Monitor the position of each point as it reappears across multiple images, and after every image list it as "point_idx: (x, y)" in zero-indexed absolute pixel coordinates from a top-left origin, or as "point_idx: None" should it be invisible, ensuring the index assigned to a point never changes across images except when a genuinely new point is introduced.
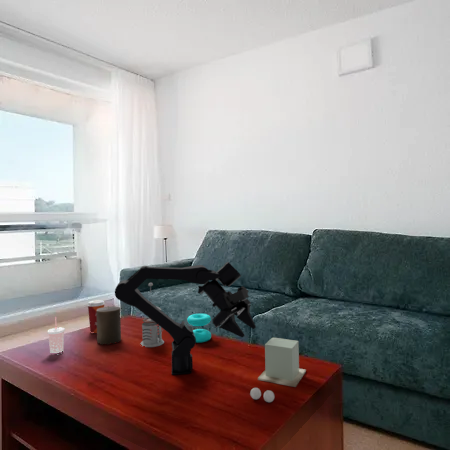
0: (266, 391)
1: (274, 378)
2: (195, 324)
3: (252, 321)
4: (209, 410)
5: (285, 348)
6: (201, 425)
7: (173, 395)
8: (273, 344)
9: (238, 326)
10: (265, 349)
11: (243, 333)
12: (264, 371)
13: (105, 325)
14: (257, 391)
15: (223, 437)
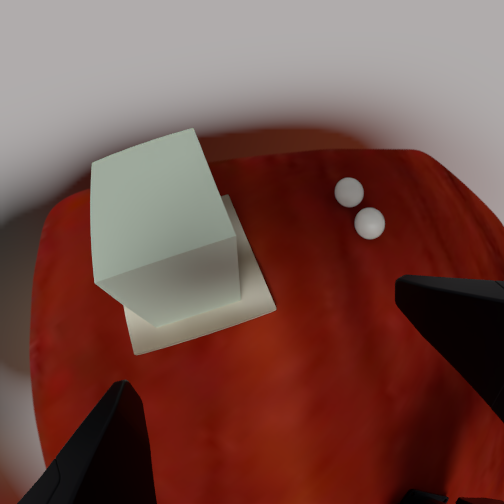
0: (358, 187)
1: None
2: None
3: (99, 424)
4: (466, 270)
5: (201, 149)
6: (484, 241)
7: None
8: (202, 200)
9: (482, 291)
10: (235, 248)
11: (411, 279)
12: (213, 327)
13: None
14: (374, 208)
15: (462, 194)
